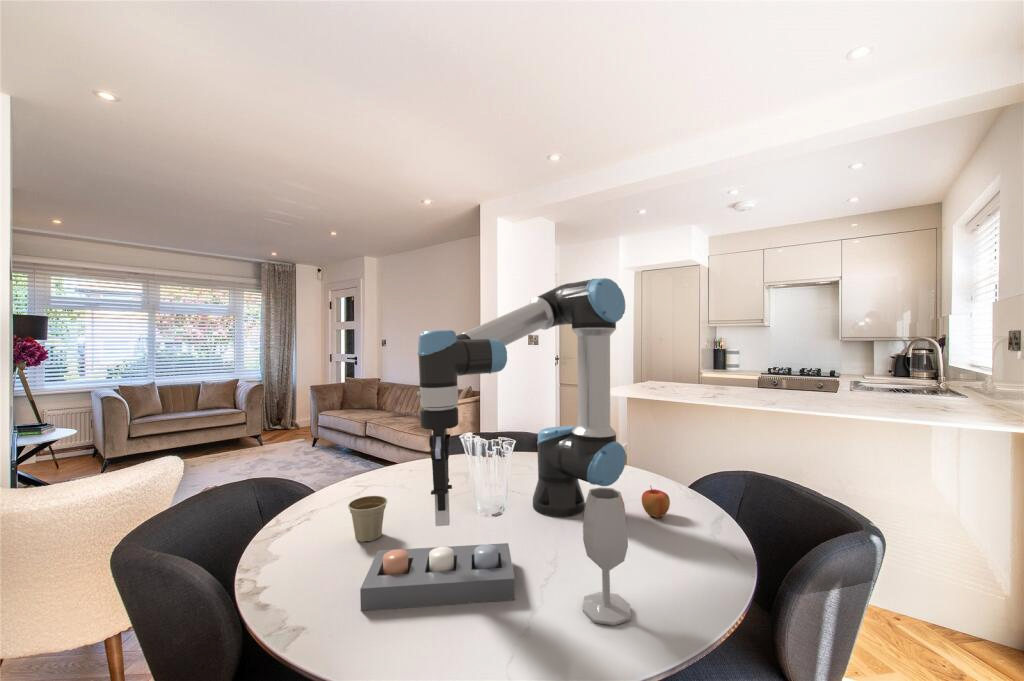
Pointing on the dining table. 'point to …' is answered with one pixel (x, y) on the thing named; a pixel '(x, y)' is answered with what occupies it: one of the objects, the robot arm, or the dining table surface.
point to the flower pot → (367, 517)
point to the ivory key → (441, 559)
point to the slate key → (486, 557)
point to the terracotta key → (395, 562)
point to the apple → (655, 502)
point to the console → (438, 581)
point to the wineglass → (605, 552)
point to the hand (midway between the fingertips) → (442, 524)
